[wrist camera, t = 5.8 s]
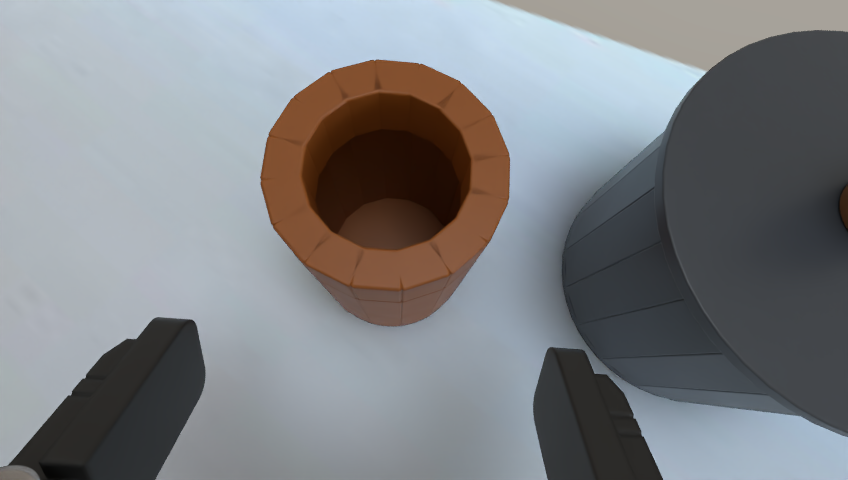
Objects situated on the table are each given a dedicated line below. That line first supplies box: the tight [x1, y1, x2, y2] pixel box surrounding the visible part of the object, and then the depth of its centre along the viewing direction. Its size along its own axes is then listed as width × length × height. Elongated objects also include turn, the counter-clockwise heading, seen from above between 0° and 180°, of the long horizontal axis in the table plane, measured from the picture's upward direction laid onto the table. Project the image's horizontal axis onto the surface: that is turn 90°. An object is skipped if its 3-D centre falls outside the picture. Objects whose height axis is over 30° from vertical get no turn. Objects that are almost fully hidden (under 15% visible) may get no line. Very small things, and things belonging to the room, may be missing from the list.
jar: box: [260, 60, 510, 326], centre depth 16 cm, size 6×6×10 cm
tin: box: [562, 131, 800, 416], centre depth 17 cm, size 11×11×9 cm
